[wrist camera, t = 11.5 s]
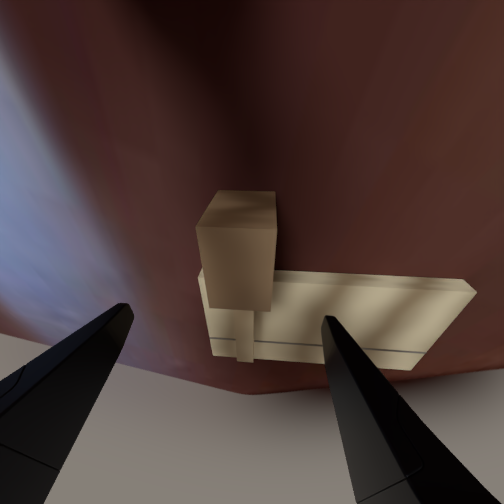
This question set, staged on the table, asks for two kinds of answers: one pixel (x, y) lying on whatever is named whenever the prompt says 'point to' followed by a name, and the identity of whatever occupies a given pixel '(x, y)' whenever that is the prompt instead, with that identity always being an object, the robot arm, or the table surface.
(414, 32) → the table surface
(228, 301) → the wooden mallet
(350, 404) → the robot arm
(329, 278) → the board
